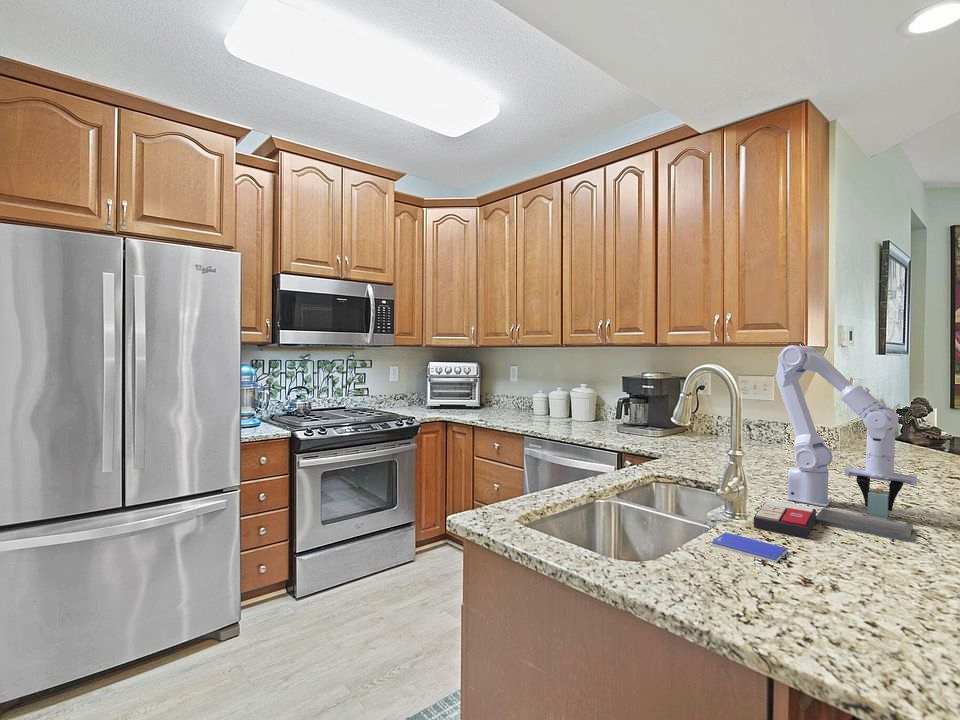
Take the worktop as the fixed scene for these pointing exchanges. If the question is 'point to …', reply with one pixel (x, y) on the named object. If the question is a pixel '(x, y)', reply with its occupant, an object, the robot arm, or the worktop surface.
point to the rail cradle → (865, 524)
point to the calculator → (785, 519)
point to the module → (878, 503)
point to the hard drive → (750, 547)
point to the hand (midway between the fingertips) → (878, 508)
